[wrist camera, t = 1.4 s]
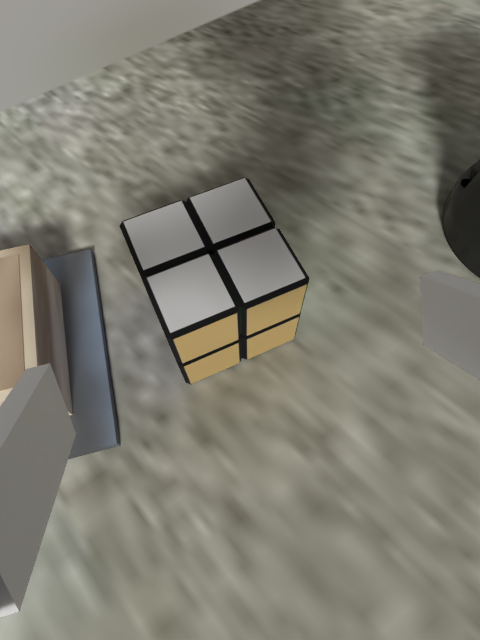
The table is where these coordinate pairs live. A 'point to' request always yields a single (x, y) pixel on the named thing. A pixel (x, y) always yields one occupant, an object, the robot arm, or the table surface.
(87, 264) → the stacking base
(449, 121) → the table surface
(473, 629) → the table surface
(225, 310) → the puzzle cube
